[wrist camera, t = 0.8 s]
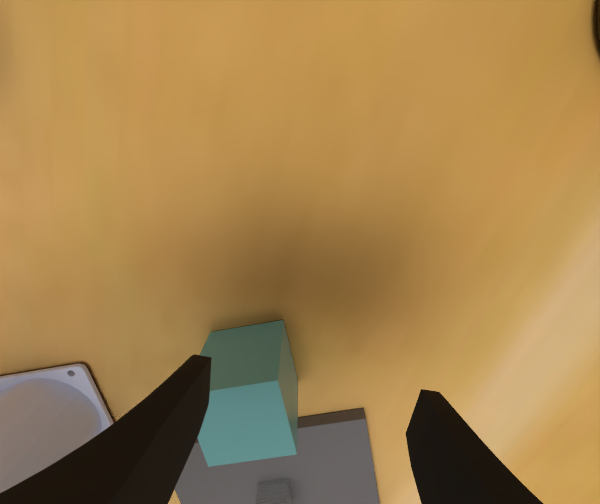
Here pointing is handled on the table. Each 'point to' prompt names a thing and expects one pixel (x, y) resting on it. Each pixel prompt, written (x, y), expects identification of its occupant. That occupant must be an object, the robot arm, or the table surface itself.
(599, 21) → the ink bottle
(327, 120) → the table surface
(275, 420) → the teal square block
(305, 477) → the pin stand
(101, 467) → the robot arm
